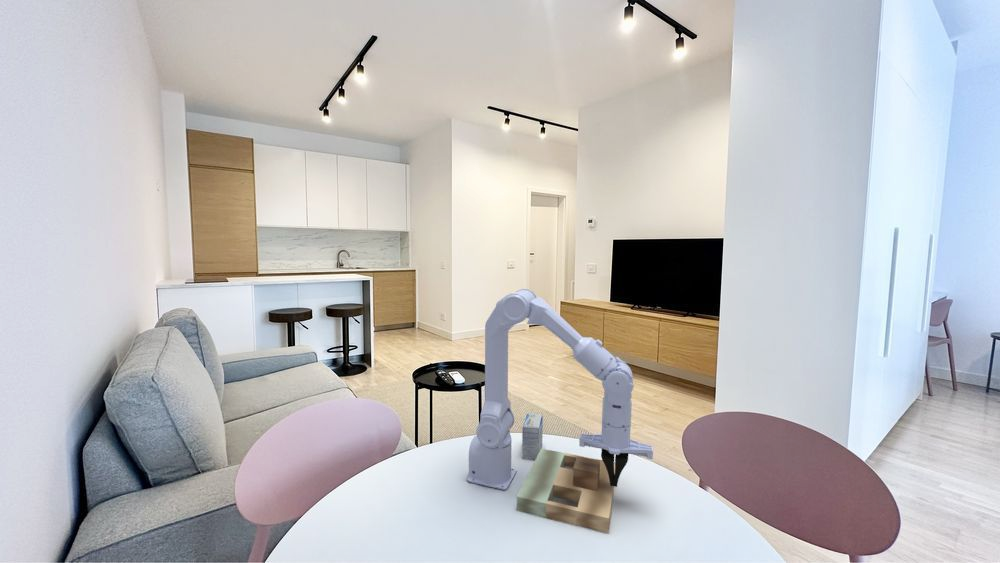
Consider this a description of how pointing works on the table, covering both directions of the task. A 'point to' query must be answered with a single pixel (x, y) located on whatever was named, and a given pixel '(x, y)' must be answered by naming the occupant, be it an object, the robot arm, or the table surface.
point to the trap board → (565, 493)
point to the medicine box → (532, 436)
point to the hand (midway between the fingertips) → (613, 483)
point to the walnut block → (586, 473)
